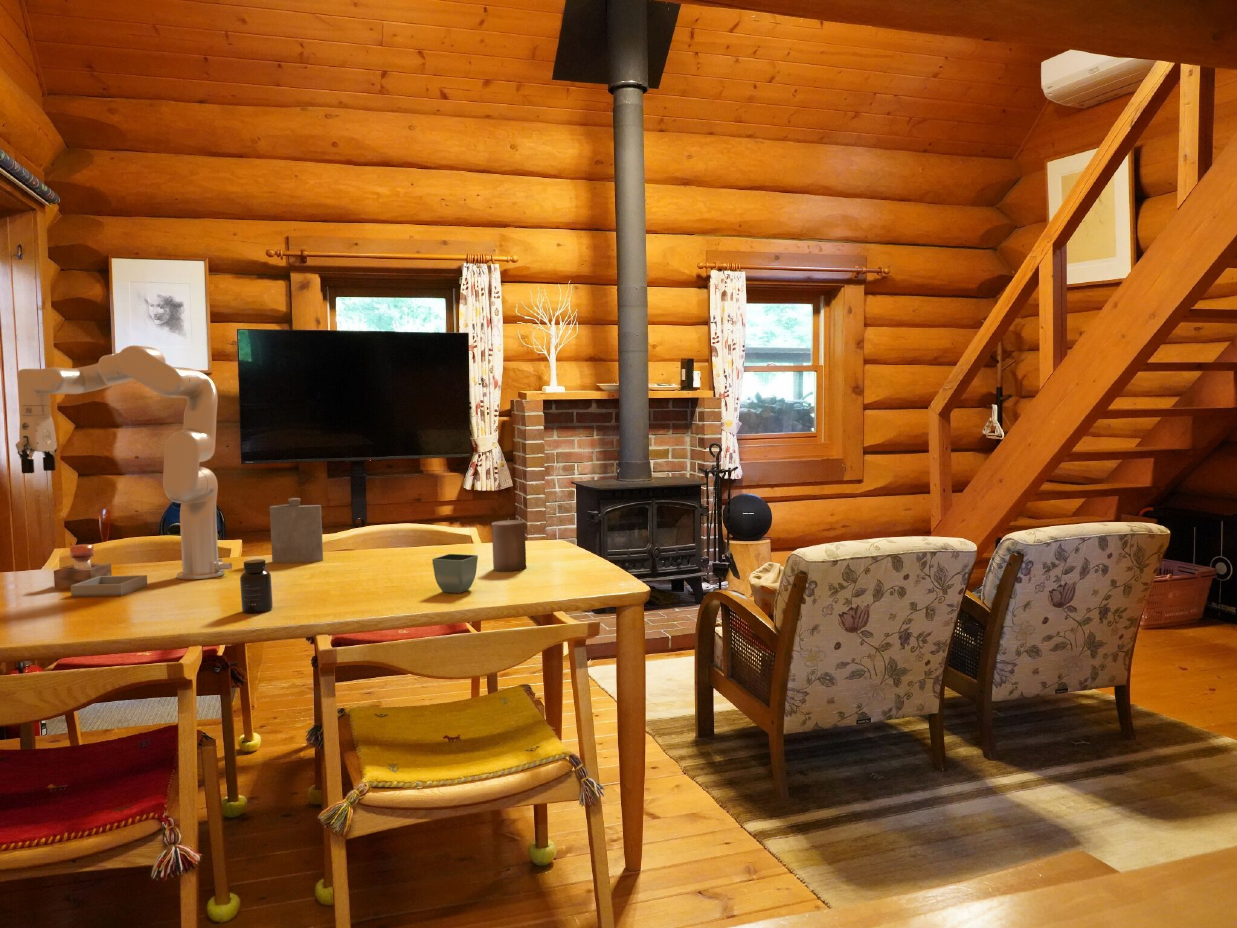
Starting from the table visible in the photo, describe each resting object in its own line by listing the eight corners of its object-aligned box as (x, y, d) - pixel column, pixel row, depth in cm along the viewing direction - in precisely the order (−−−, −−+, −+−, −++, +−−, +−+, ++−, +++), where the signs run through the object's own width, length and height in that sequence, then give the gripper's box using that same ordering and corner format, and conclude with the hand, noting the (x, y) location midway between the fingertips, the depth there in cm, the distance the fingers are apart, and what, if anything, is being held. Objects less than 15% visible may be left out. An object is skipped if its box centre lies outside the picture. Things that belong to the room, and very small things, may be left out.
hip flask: (324, 559, 283) (322, 497, 282) (320, 562, 279) (317, 498, 278) (274, 560, 283) (271, 497, 282) (269, 563, 279) (266, 499, 278)
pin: (99, 582, 252) (97, 543, 251) (88, 586, 247) (85, 547, 246) (79, 583, 252) (77, 544, 251) (67, 587, 247) (65, 547, 246)
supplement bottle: (247, 608, 216) (244, 558, 215) (276, 607, 216) (274, 557, 215) (237, 614, 209) (235, 563, 208) (267, 613, 209) (265, 562, 209)
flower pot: (479, 588, 233) (478, 554, 233) (463, 595, 225) (462, 560, 224) (449, 587, 236) (448, 553, 236) (432, 594, 228) (431, 559, 227)
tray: (147, 585, 246) (146, 575, 246) (121, 596, 233) (120, 584, 233) (100, 586, 246) (99, 576, 246) (71, 597, 233) (70, 585, 233)
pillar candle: (533, 567, 263) (531, 516, 262) (512, 572, 255) (510, 520, 254) (507, 565, 268) (505, 515, 267) (485, 570, 260) (484, 518, 259)
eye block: (112, 580, 254) (110, 563, 254) (91, 588, 244) (90, 570, 244) (76, 581, 254) (75, 564, 254) (54, 588, 244) (53, 570, 244)
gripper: (29, 412, 247) (33, 474, 249) (66, 411, 265) (70, 469, 266) (1, 412, 247) (5, 474, 248) (41, 412, 265) (44, 470, 266)
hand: (39, 471), depth 257 cm, fingers open, 9 cm apart
